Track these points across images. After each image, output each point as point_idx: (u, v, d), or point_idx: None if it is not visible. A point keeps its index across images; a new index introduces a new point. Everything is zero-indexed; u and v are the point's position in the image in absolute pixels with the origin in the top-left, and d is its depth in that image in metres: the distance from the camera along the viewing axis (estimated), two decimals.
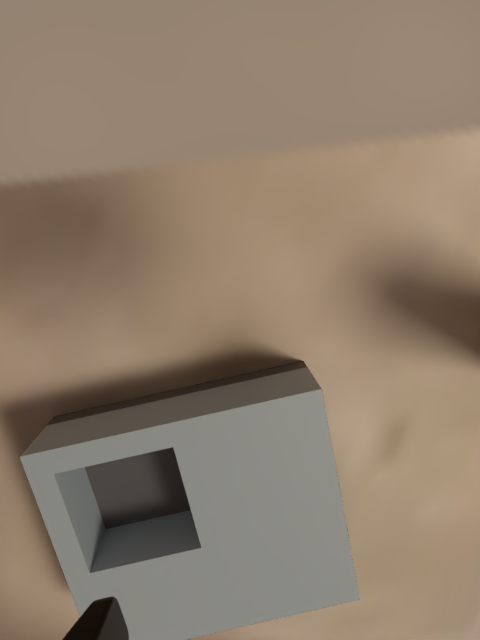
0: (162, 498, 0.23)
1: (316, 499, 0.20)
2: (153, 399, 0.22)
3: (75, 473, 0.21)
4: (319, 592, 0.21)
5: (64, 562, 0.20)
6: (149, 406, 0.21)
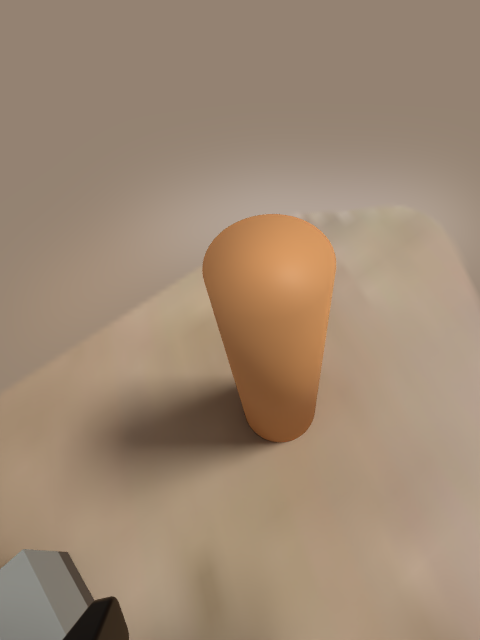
0: None
1: None
2: None
3: None
4: None
5: None
6: None
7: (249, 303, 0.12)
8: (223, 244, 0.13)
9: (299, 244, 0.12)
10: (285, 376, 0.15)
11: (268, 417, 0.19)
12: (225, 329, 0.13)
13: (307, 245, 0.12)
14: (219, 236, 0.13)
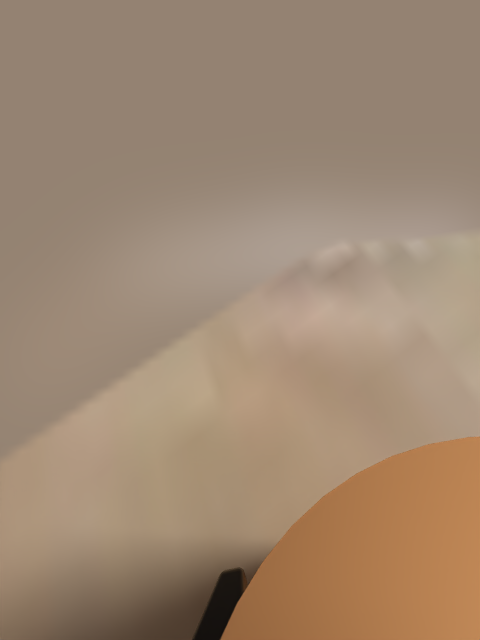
0: None
1: None
2: None
3: None
4: None
5: None
6: None
7: None
8: None
9: None
10: None
11: None
12: None
13: None
14: (265, 585, 0.02)
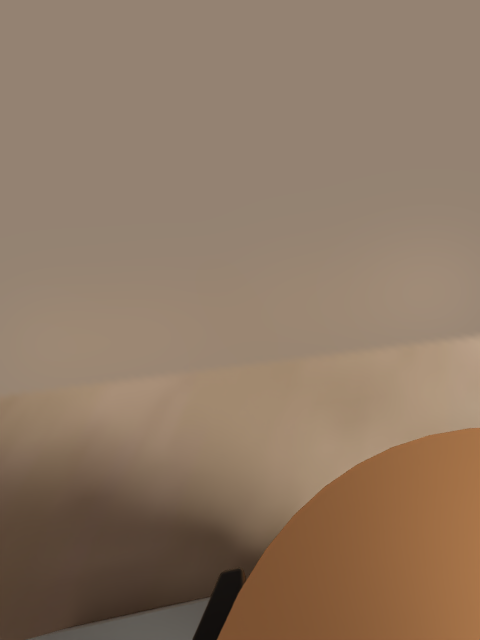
0: None
1: None
2: (187, 601, 0.19)
3: None
4: None
5: None
6: (180, 604, 0.18)
7: None
8: None
9: None
10: None
11: None
12: None
13: None
14: (268, 573, 0.02)
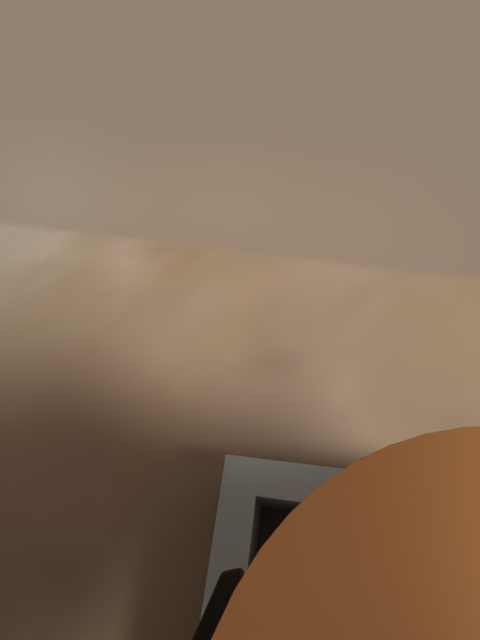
0: None
1: None
2: None
3: (255, 540, 0.14)
4: None
5: None
6: None
7: None
8: None
9: None
10: None
11: None
12: None
13: None
14: (263, 572, 0.02)
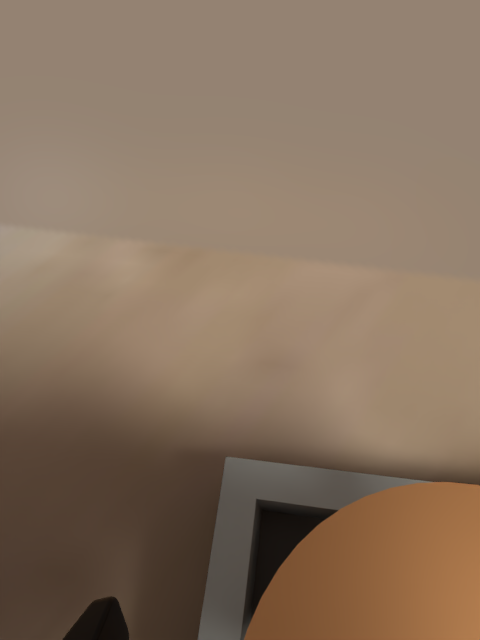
0: None
1: None
2: None
3: (256, 543, 0.14)
4: None
5: None
6: None
7: None
8: (299, 636, 0.03)
9: None
10: None
11: None
12: None
13: None
14: (280, 585, 0.04)
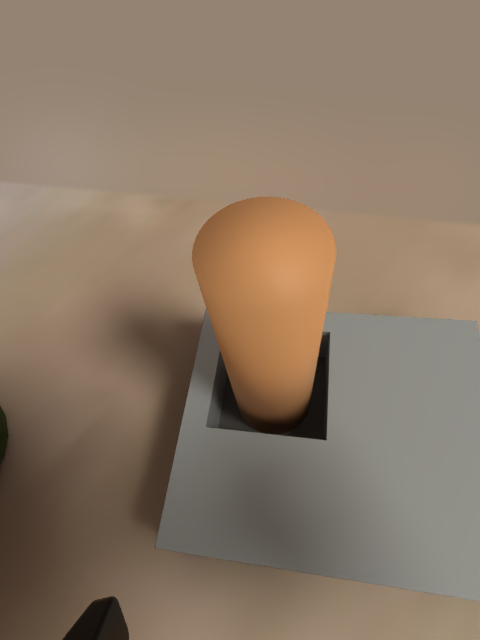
0: None
1: (466, 427, 0.18)
2: None
3: None
4: (464, 567, 0.15)
5: (189, 406, 0.20)
6: None
7: (244, 293, 0.11)
8: (214, 230, 0.12)
9: (296, 229, 0.12)
10: (281, 369, 0.14)
11: (263, 410, 0.18)
12: (217, 321, 0.12)
13: (304, 230, 0.12)
14: (209, 221, 0.12)
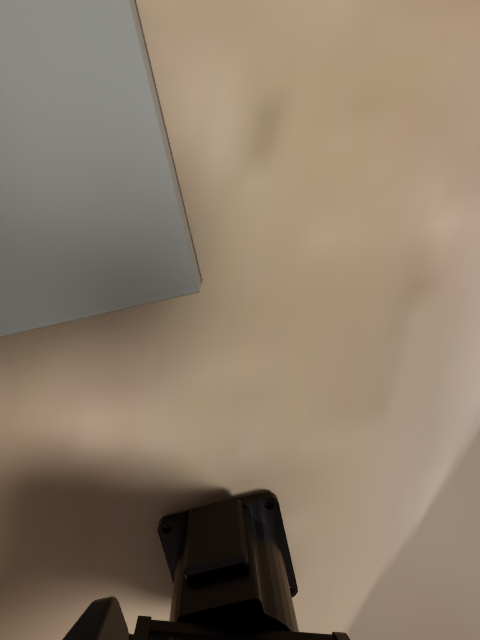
0: None
1: (122, 121, 0.14)
2: None
3: None
4: (141, 277, 0.15)
5: None
6: None
7: None
8: None
9: None
10: None
11: None
12: None
13: None
14: None
